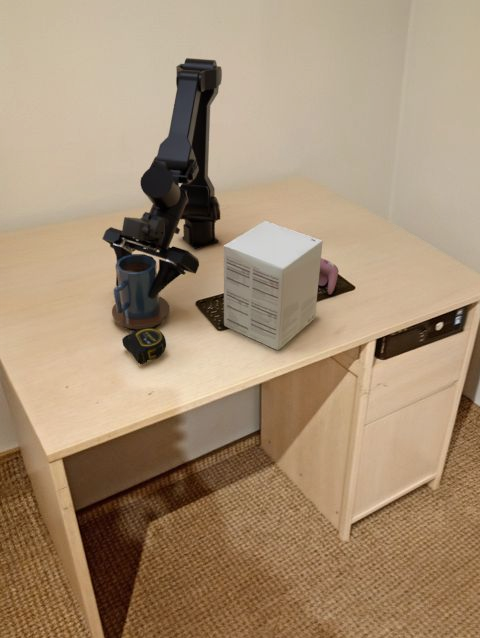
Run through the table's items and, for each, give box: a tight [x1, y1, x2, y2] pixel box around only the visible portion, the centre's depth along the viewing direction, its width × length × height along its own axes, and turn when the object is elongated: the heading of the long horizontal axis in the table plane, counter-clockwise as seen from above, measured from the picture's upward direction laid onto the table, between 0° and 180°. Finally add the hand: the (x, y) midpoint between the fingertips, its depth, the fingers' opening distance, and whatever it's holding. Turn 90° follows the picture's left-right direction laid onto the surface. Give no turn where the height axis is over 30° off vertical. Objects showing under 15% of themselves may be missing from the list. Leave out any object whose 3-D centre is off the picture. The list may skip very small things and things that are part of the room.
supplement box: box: [223, 220, 324, 351], centre depth 114 cm, size 13×13×18 cm
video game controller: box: [318, 257, 339, 295], centre depth 129 cm, size 10×5×7 cm, turn 71°
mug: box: [111, 253, 171, 329], centre depth 115 cm, size 12×11×11 cm
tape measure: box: [121, 328, 167, 366], centre depth 109 cm, size 7×7×4 cm
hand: (134, 292), depth 114 cm, fingers closed on mug, 7 cm apart
